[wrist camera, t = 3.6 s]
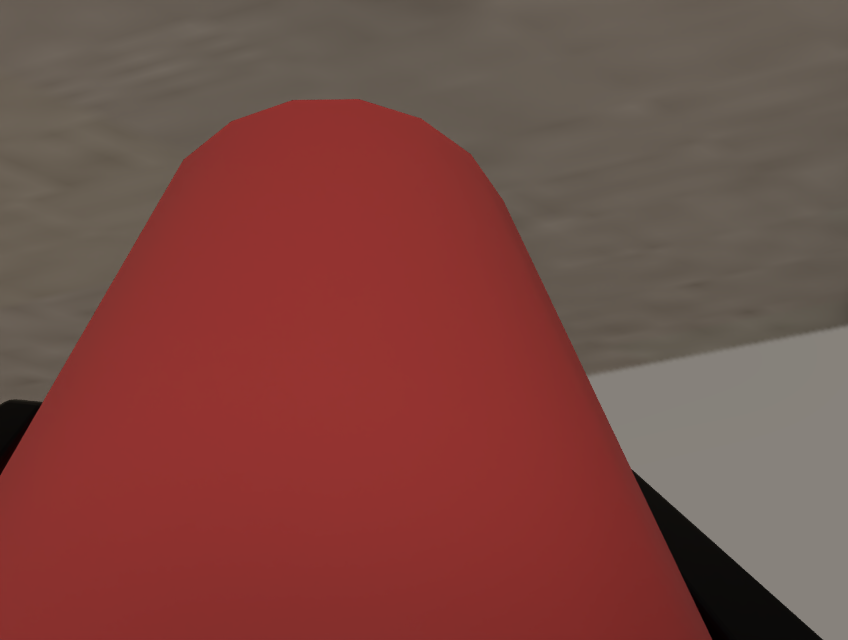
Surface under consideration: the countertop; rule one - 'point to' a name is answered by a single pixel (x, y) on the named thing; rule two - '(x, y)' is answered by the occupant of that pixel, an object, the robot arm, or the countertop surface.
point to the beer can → (329, 418)
